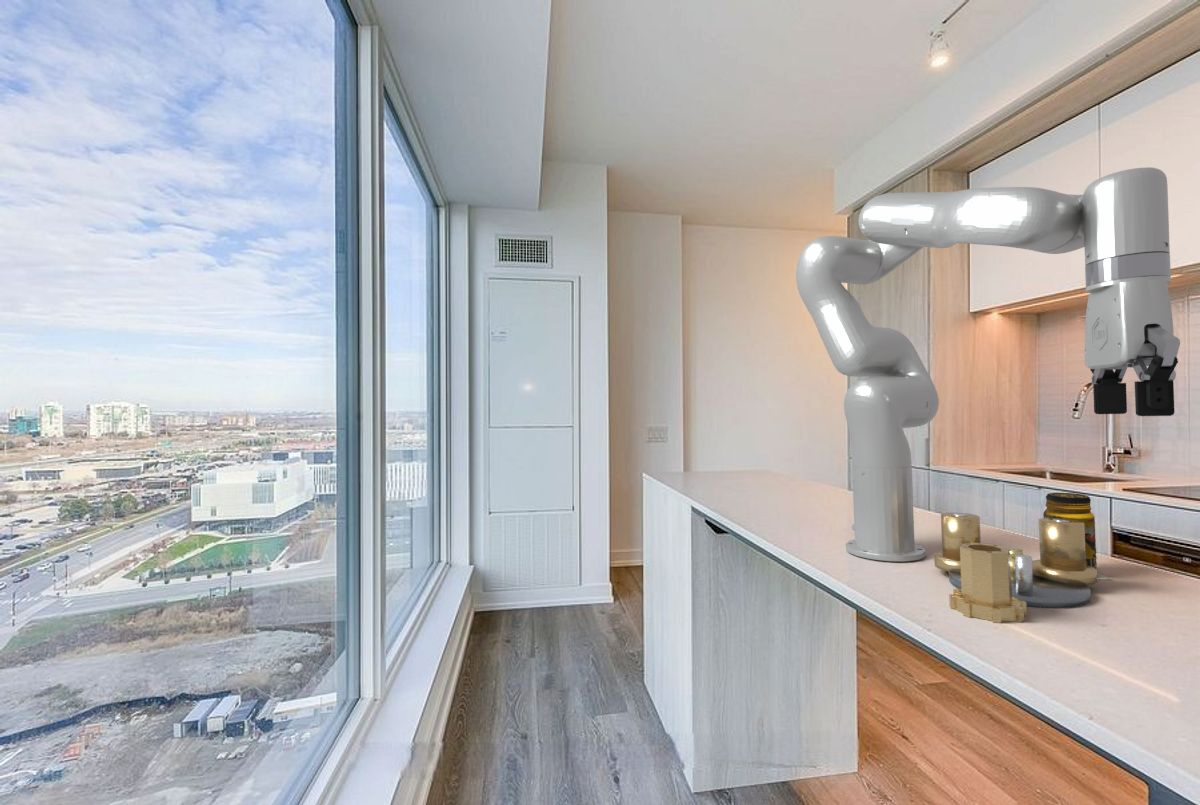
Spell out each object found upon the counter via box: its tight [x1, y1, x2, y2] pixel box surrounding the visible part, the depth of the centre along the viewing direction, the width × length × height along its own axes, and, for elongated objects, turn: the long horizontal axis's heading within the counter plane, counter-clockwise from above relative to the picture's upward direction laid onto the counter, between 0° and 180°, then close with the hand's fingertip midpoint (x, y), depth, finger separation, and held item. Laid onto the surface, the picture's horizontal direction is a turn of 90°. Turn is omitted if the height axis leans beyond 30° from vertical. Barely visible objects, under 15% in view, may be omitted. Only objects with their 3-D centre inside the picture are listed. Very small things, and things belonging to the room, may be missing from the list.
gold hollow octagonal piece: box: [948, 542, 1028, 624], centre depth 70 cm, size 8×8×8 cm
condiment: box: [1042, 492, 1112, 581], centre depth 85 cm, size 7×8×12 cm
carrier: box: [933, 512, 1098, 609], centre depth 79 cm, size 18×19×9 cm
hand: (1131, 414), depth 67 cm, fingers open, 9 cm apart
